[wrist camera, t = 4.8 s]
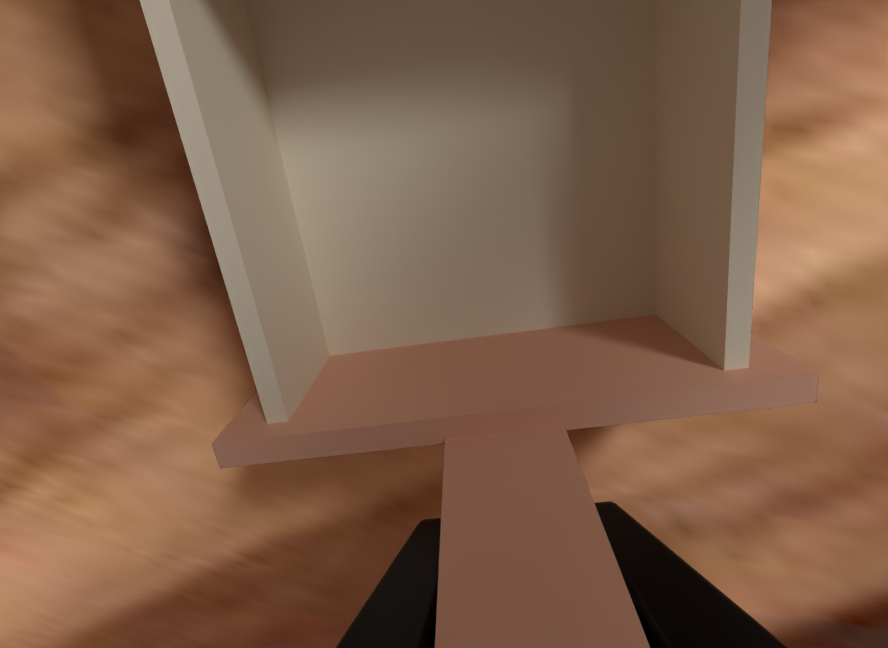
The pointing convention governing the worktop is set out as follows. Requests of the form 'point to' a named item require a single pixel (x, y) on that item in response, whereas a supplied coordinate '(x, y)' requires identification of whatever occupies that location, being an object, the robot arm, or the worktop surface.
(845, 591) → the worktop surface
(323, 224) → the mailer tray
